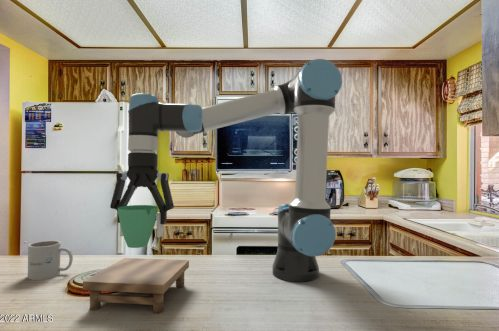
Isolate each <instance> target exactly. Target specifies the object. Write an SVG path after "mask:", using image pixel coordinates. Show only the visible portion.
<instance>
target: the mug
mask: <svg viewBox="0 0 499 331" xmlns="http://www.w3.org/2000/svg"><path fill="white" fill-rule="evenodd" d="M61 243H62V242H61V241H60V240H44V241H36V242H33V243H29V244H28V246H27V279H28V278H29V279H28V280H30V279H32V280H31V281H43V280H48V279H52V278H55V277H57V276H59V275H60V274H61V272H64V271H65V272H66V271H67V270H69V269H70V268H71V266H72V264H73V259H74V258H73V256H74V255H73V253H72V250H71V249H70V248H68V247H61V245H62V244H61ZM61 252H66V253H67V254H68V257H69V259H68V260H69V262H68V265H66V266H65V267H62V266H61ZM42 279H43V280H42Z"/></svg>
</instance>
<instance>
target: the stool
mask: <svg viewBox="0 0 499 331" xmlns="http://www.w3.org/2000/svg"><path fill="white" fill-rule="evenodd" d="M189 267H190V260H187V259H165V258H163V259H162V258H142V257H141V258H139V257H136V258H135V257H134V258H133V257H124V258H122V259H120V260H118V261H117V262H115V263H113V264H112V265H110V266H108V267H106V268H104V269H102V270H100V271H99V272H97V273H95V274H94V275H92V276H90V277H88V278H87V279H85V280H82V290H84V291H89V310H92V311H93V310H99V309H101V306H102V305H101V303H111V304H116V303H117V304H134V305H150V306H151V305H152V313H153V314H161V313H163V312H164V296H165V293H166V292H167V291H168V290H169V289H170V287H172V286H173V284H174V283H175V288H178V289H179V288H180V289H182V288H184V287H185V272H186V270H188V269H189ZM102 291H103V292H104V293H102ZM105 292H116V293H105ZM117 292H122V293H139V294H122V293H121V294H120V293H117ZM141 294H144V295H141ZM145 294H152V295H145Z"/></svg>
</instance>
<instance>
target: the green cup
mask: <svg viewBox="0 0 499 331" xmlns="http://www.w3.org/2000/svg"><path fill="white" fill-rule="evenodd" d="M158 210H159V208H158V206H157V205H151V204H150V205H149V204H134V205H127V206H122V207H118V215H119V221H120V223H119V226H120V225H121V230H122V233H123V236H122V237H123V238H124V240H125V244H126V247H127V248H130V249H139V248H145V247H146V246H148V243H149V242H150V239H151V236H152V234H153V230H154V228H155V225H156V223H157V212H158Z"/></svg>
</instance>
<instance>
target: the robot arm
mask: <svg viewBox="0 0 499 331" xmlns="http://www.w3.org/2000/svg"><path fill="white" fill-rule="evenodd" d="M342 84H343V78H342V74H341V71H340V69H339V68H338V67H337V66H336V65H335V64H334V62H332V61H330V60H327V59H323V58H315V59H312V60H310V61H308V62H307V63H305V64H303V65H302V67H300V69H299V71H298V72H297V73H296V74H295V75H294V77H293V78H291V79H290V80H289V81H287V82H285V83H281V84H279V85H275V87H274V88H273V89H272V90H268V91H264V92H259V93H255V94H251V95H248V96H244V97H240V98H236V99H235V98H234V99H232V100H227V101H223V102H220V103H216V104H211V105H208V106H203V107H202V106H201V105H200V104H192V103H186V104H185V103H164V102H163V103H161V102H160V101H159V98H158V96H156V95H154V94H150V93H134V94H132V95H131V96H130V97H129V105H128V141H127V145H128V146H127V150H128V154H127V167H128V169H127V171H126V172H116V175H115V177H116V183H115V187H114V191H113V194H112V198H111V201H110V206H109V208H111V209H113V210H116V211H117V213H116V214H117V215H116V216H117V220H116V222H117V223H118V224H119V237H124V236H123V233H122V230H121V225H120V221H119V215H118V207H122V206H129V205H128V204H129V203H130V200H131V199H132V197H133V195H134V193H135V191H136V190H137V189H138V188H140V187H141V188H147V189H148V190H149V191H150V194H151V196H152V198H153V201H154V202H155V204H156V206H157V207H158V210H159V211H157V217H156V238H161V237H163V236H164V225H165V224H167V222H168V221H167V220H168V219H167V217H168V216H167V215H168V212H169V211H170V210H173V209H174V208H175V205H174V202H173V196H172V193H171V188H170V184H169V178H170V177H169V176H170V175H169V173H167V172H159V171H158V154H157V153H156V152H158V141H159V140H158V137H159V136H158V134H159V132H175V133H176V134H177V135H178V136H180V137H182V138H191V137H194V136H195V135H198V134H201V133H205V132H209V131H213V130H216V129H220V128H224V127H228V126H232V125H237V124H240V123H243V122H244V123H245V122H248V121H251V120H255V119H260V118H264V117H267V116H272V115H275V114H280V115H281V116H284V115H288V114H292V113H295V114H296V115H297V117H298V118H297V120H298V123H297V145H296V147H297V148H296V164H295V165H296V166H295V185H294V186H295V187H294V189H295V190H294V199H293V200H292V201H291V202H290V203H281V204H279V206H278V209H277V252H276V254H275V257H274V261H273V264H272V267H271V268H272V272H271V273H272V275H273V276H274V277H276V278H277V279H280V280H283V281H289V282H297V283H298V282H310V281H314V280H316V279H319V276H320V267H319V264H318V260H317V258H316V257H318V256H322V255H325V253H327V252H328V251H329V250H330V249H331V248H332V247H333V245H334V243H335V241H336V236H337V234H336V228H335V225H334V224H333V222H332V220H331V207H332V206H331V205H330V204H329V203H328V202H327V200H326V196H327V195H326V192H327V170H328V168H327V167H328V150H329V148H328V147H329V144H328V143H329V126H330V125H329V124H330V120H329V119H330V116H331V115H332V114H333V113H334V112H335V110H336V97H337V95H338V94H339V92H340V90H341V88H342ZM127 179H129V182H128V185H127V188H126V190H125V191H124V188H125V184H126V181H127ZM157 179H158V180H159V181H160V186H161V191H162V195H163V196H162V195H161V193H160V190H159V189H158V185H157V183H156V180H157ZM123 192H124V194H123Z"/></svg>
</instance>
